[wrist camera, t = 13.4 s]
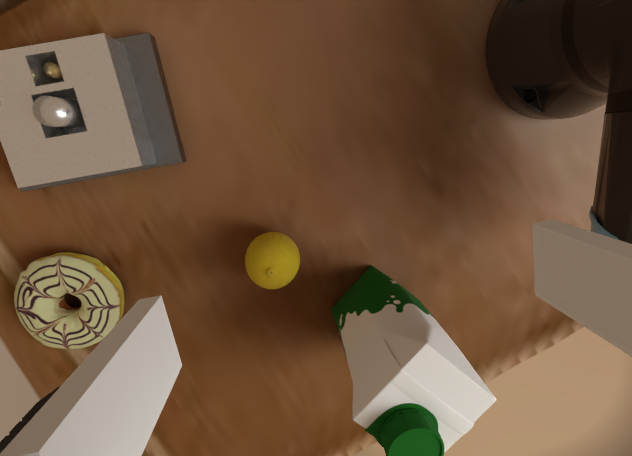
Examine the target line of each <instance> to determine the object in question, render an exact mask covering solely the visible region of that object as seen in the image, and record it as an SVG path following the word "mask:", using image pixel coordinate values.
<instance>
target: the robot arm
mask: <svg viewBox="0 0 632 456" xmlns="http://www.w3.org/2000/svg"><path fill="white" fill-rule="evenodd" d="M486 57H487V65H488V70H489V74H490V77H491V80H492V82H493V85H494V87H495V89H496V90H497V92H498V93H499V95H500V96H501V98H502V99H503V100H504V101H505V102H506V103H507V104H508V105H509V106H510V107H511V108H513V109H514V110H516V111H517V112H519V113H521V114H523V115H526V116H528V117H532V118H536V119H563V118H571V117H575V116H579V115H582V114H585V113H587V112H590V111H592V110H594V109H596V108H598V107H600V106H602V105H603V104H605V103H606V112H605V115H604V123H603V132H602V140H601V148H600V156H599V164H598V173H597V181H596V189H595V196H594V203H593V206H591V208H590V214H589V216H590V219H591V231H588V230H585V229H582V228H579V227H575V226H572V225H569V224H566V223H562V222H559V221H556V220H549V221H544V222H539V223H533V224H532V226H533V254H534V282H535V295H536V296H537V297H539V298H540V299H542V300H543V301H545V302H547V303H548V304H550V305H551V306H553V307H554V308H556V309H558V310H559V311H561V312H562V313H564V314H565V315H567V316H569V317H570V318H572V319H573V320H575V321H576V322H578V323H580V324H581V325H583V326H584V327H586V328H587V329H589V330H591V331H592V332H594V333H595V334H597V335H599V336H600V337H602V338H603V339H605V340H606V341H608V342H610V343H611V344H613V345H614V346H616V347H617V348H619V349H620V350H622V351H624V352H625V353H627V354H628V355H630V356H631V357H632V0H501V2H500V3H499V5H498V7H497V9H496V11H495V13H494V15H493V18H492V20H491V24H490V27H489V31H488V36H487V45H486ZM181 367H182V363H181V360H180V356H179V353H178V349H177V346H176V343H175V339H174V336H173V333H172V329H171V326H170V323H169V319H168V316H167V313H166V309H165V306H164V303H163V299H162V296H161V295H160V296H155V297H150V298H145V299H139V300H138V301H137V302H136V303H135V304H134V306H133V307H132V308H131V309H130V310H129V311H128V312H127V313H126V314H125V316H124V317H123V318H122V319H121V320H120V321H119V322H118V323H117V324H116V326H115V327H114V328H113V329H112V330H111V331H110V332H109V333H108V334H107V336H106V337H105V338H104V339H103V340H102V341H101V342H100V343H99V344H98V346H97V347H96V348H95V349H94V350H93V351H92V352H91V353H90V354H89V356H88V357H87V358H86V359H85V360H84V361H83V362H82V363H81V364H80V366H79V367H78V368H77V369H76V370H75V371H74V372H73V373H72V374H71V376H70V377H69V378H68V379H67V380H66V381H65V382H64V383H63V384H62V386H61V387H58V388H56V389H55V390H54V391H52V392H51V393H50V394H48V395H47V396H45V397H44V398H43V399H41V400H40V401H39V402H38V403H36V404H35V405H34V407H33V408H32V409H31V410H30V411H29V412H28V413H27V414H26V415H25V416H24V417H23V418H22V421H21V422H19V423H18V424H17V425H16V426H15V427H14V428H13V429H12V430H11V431H10V432H9V433H10V434H9V435H8V436H6V437H5V438H4V439H3V440H2V441H1V442H0V456H141V455H142V453H143V451H144V449H145V447H146V444H147V442H148V440H149V438H150V436H151V433H152V431H153V429H154V427H155V424H156V422H157V420H158V418H159V416H160V413H161V411H162V409H163V407H164V405H165V402H166V400H167V398H168V396H169V394H170V391H171V389H172V387H173V385H174V382H175V380H176V378H177V376H178V374H179V371H180V369H181Z"/></svg>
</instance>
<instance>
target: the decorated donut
mask: <svg viewBox="0 0 632 456" xmlns="http://www.w3.org/2000/svg"><path fill="white" fill-rule="evenodd" d="M66 293H69V294H71V295H73V296H76V297H78V298H79V299H80V300H81V303H82V304H81V305H82V306H81V307H79V308H72V307H70V306H68V305H67V303H66V301H65V299H64V298H65V296H64V294H66ZM14 303H15V309H16V313H17V315H18V317H19V320H20V322H21V323H22V325H23V326H24V327H25V329H26V330H27V331H28V332H29V333H30V334H31V335H32V336H33V337H34V338H35V339H37V340H39V341H40V342H41V343H42V344H44V345H46V346H49V347H54V348H64V349H65V348H68V349H80V348H85V347H87V346H91V345H93V344H95V343H98V342H99V341H101V340H102V339H104V338H105V337H106V336H107V334H108V333H109V332H110V331H111V330H112V329H113V328H114V327H115V326H116V324H117V323H118V322H119V321H120V320H121V317H122V315H123V311H124V291H123V287H122V284H121V282H120V280H119V279H118V277H117V276H116V275H115V274H114V273H113V272H112V271H111V270H110V269H109V268H108V267H107V266H106V265H105V264H103V263H102V262H101V261H99V260H98V259H96V258H94V257H91V256H88V255H83V254H78V253H71V252H63V253H56V254H53V255H51V256H48V257H42V258H39V259H37V260H36V261H33V262H32V263H30V264H29V266H28V268H27V269H26V270H25V271H23V272H21V273H20V276H19V279H18V283H17V285H16V289H15V293H14Z"/></svg>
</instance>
